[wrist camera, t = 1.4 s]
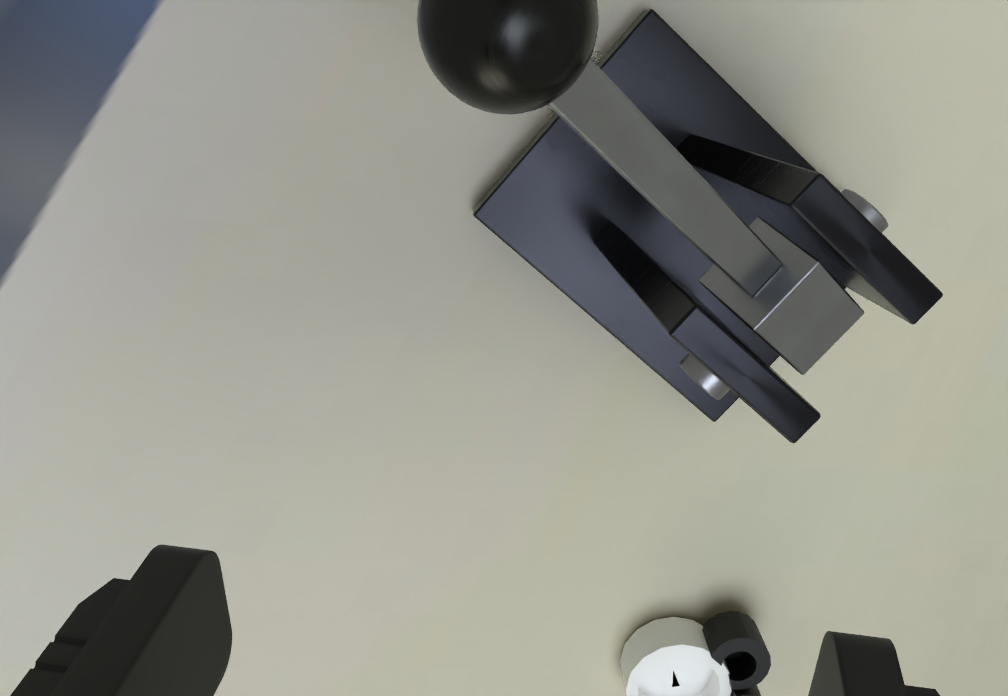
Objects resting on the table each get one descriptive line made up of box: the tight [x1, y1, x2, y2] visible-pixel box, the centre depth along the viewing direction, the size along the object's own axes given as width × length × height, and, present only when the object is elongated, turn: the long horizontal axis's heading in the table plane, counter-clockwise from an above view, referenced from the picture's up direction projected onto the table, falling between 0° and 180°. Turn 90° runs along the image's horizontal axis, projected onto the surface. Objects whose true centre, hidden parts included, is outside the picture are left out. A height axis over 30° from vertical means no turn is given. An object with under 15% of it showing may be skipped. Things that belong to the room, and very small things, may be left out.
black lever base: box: [473, 9, 943, 443], centre depth 29 cm, size 12×9×13 cm
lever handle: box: [417, 0, 864, 375], centre depth 20 cm, size 14×3×3 cm, turn 49°
